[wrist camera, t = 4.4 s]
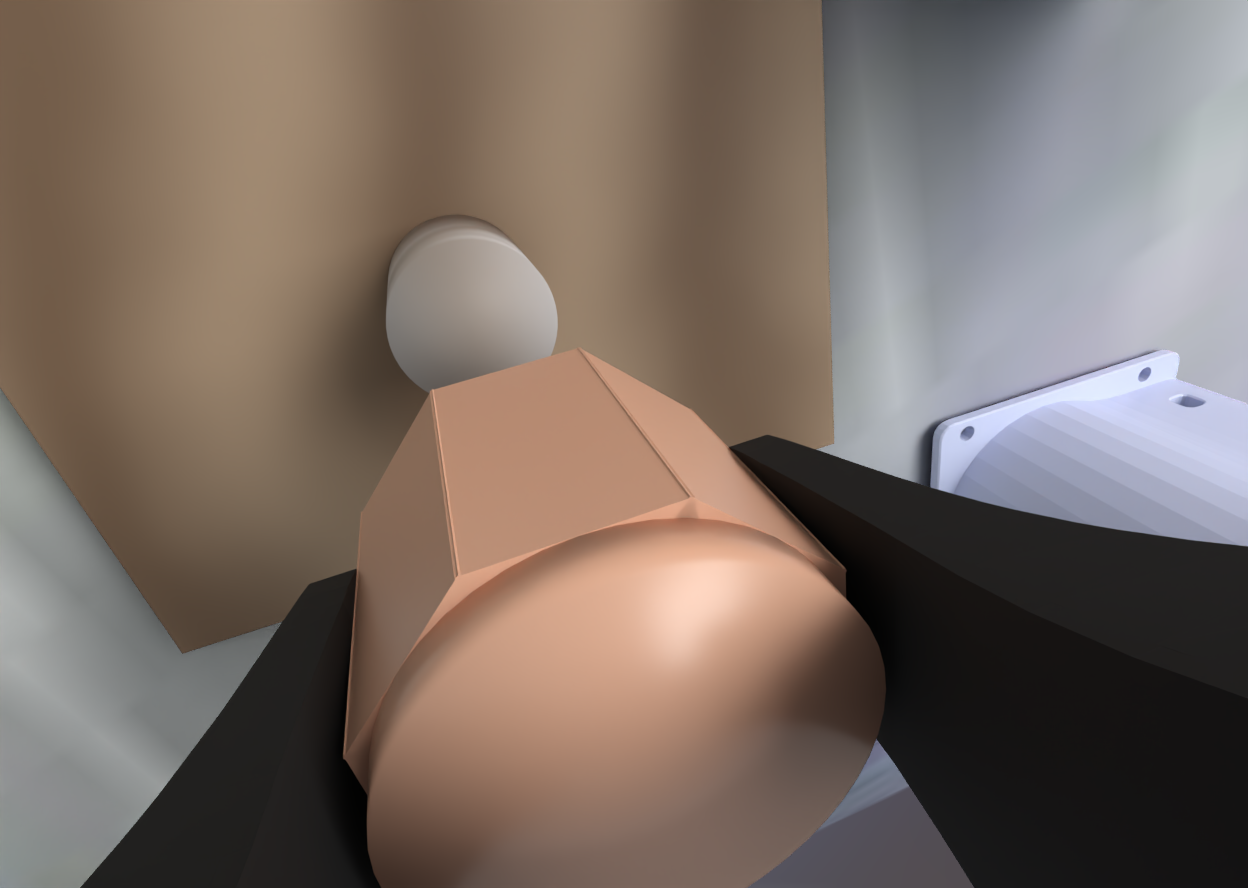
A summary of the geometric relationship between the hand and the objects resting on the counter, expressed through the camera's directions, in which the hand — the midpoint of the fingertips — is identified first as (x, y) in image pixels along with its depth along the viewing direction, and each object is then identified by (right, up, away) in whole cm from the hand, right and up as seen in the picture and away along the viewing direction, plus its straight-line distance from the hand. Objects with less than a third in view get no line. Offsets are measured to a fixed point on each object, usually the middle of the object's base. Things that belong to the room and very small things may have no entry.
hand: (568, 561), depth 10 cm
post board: (-3, +6, +6) cm, 9 cm away
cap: (0, +1, +1) cm, 1 cm away
